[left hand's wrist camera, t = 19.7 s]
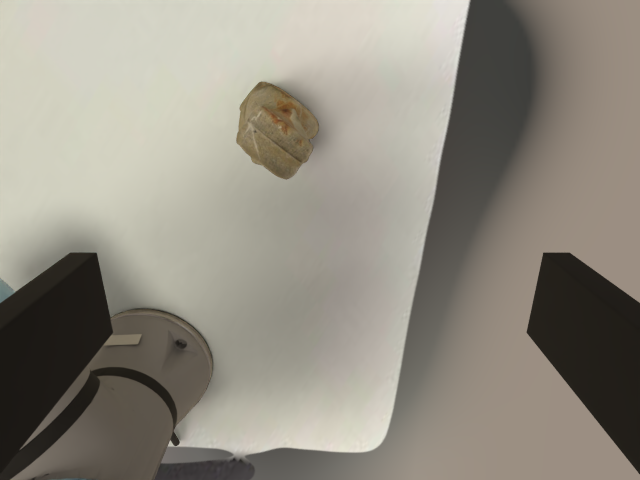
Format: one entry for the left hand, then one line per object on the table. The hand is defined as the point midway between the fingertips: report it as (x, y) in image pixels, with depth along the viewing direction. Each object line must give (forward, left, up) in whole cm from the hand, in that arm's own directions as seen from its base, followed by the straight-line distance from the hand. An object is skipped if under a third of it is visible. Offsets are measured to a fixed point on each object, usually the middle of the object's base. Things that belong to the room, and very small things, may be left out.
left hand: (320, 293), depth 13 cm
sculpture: (+2, +4, -33) cm, 34 cm away
